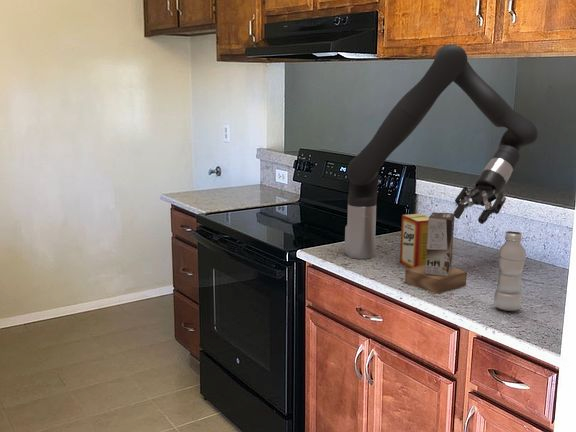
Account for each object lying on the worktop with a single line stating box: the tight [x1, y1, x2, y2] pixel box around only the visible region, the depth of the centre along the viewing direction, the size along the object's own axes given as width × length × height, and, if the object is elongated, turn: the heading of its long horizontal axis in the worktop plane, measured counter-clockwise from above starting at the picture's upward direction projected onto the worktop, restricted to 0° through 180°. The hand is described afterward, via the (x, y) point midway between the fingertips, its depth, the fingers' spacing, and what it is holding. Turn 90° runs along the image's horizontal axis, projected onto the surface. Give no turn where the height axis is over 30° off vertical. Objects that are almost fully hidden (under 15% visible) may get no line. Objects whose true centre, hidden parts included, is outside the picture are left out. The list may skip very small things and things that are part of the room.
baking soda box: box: [399, 213, 430, 269], centre depth 191 cm, size 10×6×16 cm
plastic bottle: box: [493, 230, 527, 312], centre depth 154 cm, size 6×7×20 cm
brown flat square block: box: [404, 264, 468, 295], centre depth 176 cm, size 12×12×4 cm
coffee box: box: [425, 211, 456, 276], centre depth 173 cm, size 9×6×16 cm
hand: (467, 219), depth 180 cm, fingers open, 8 cm apart
